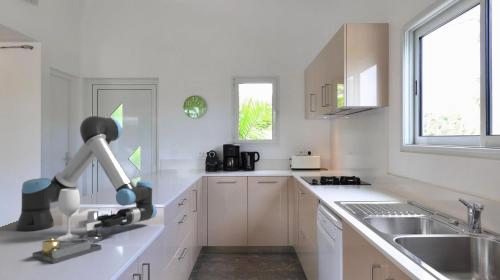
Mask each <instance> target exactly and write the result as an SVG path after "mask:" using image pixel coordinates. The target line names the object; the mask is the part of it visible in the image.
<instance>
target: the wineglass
mask: <svg viewBox="0 0 500 280" xmlns="http://www.w3.org/2000/svg"><path fill="white" fill-rule="evenodd" d="M57 204H58V206H57V207H58V210H59V211H60V213H61V214H63V215H65V216H66V219H67V226H66V234H63V235H60V236H58V237H57V238H56V240H59V242H63V241H67V240H73V239H80V237H81V236H80V235H78V234H72V233H71V217H72V215H74V214H75V213H77V212H78V210H79V208H80V205H81V195H80V191H79V188H76V189H74V188H72V189H62V190H61V191H60V194H59V200H58V202H57Z"/></svg>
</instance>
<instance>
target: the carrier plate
mask: <svg viewBox="0 0 500 280" xmlns="http://www.w3.org/2000/svg"><path fill="white" fill-rule="evenodd" d="M41 248H42V249H41V250H38V251H35V252H32V253H31V254H32V258H34V259H37V260H40V261H44V262H46V263H49V264H53V265H54V264H57V263H58V264H59V263H60V262H64V261H66V260H68V261H69V260H70V259H73V258H74V259H75V258H77V257H81V256H83V255H88V254H91V253H93V252H97V251H100V250H102V244H97V243H93V240H90V239H83V238H78V239H73V240H67V241H59V240H57V239H55V238H54V237H49V238H47V239H46V240H44V241H42V246H41Z"/></svg>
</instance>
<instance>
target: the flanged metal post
mask: <svg viewBox="0 0 500 280" xmlns="http://www.w3.org/2000/svg"><path fill="white" fill-rule="evenodd" d="M98 216H99V210H90V211H87V216H86V217H87V219H86V220H87V224H88V223H93V222H97V221H98ZM82 239H90V240H93V244H95V243H98V242H101V241H102V234H101V233H99V228H97V229H93V230H89V231H86V234H85V235H84V236H83V237H82Z"/></svg>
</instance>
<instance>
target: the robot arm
mask: <svg viewBox="0 0 500 280" xmlns="http://www.w3.org/2000/svg"><path fill="white" fill-rule="evenodd" d="M79 133H80V137H81V139H82V142H83V143H82V144H81V146H80V147H79V148H78V150H77V151H76V153H75V154H74V155H73V157H72V158H71V159H70V161H68V163H67V164H66V165H65V167H64V169H63V170H62V171H60V172H57V173H56V174H55V175H54V176H53V177H52V179H51V178H49V177H40V178H32V179H28V180H26V181H23V183H22V186H21V187H22V188H21V208H20V209H21V211H20V212H21V213H20V215H19V217H18V220H17V222H16V225H15V226H16V228H15V229H16V231H20V232H32V230H34V231H42V230H46V229H51V228H52V227H54V225H55V220H54V217H53V215H52V213H51V204H53V203H58V200H59V194H60V191H61V190H62V189H72V188H74V189H78V183H79V182H78V180H79V179H80V177H81V176H82V175H83V173H85V171H86V170H87V169H88V167H89V165H90V164H92V162H93V161H94V160H95V158H96V160H97V162H98V163H99V165H100V167H101V168H102V170H103V172H104V173H105V175H106V177H107V179H108V180H109V182H110V183H111V185H112V186H113V188H114V190H115V192H116V194H115V201H116V203H117V204H118V205H120V206H122V207H124V206H125V207H126V206H130V207H127V208H121V209H119V210H117V212H116V213H113V214H103V215H98V221H97V222H93V223H88V224H87V219H85V220H79V221H75V229H82V228H85V231H86V232H87V231H89V230H93V229H97V228H98V229H102V228H106V229H107V228H112V227H115V226H120V227H121V226H127V225H134V224H135V223H139V222H143V221H149V220H152V219H153V218H155V217H156V215H157V211H158V210H157V208H156V207H157V206H156V205H155V204H154V203H153V182H152V181H150V180H138V181H137V182H136V185H135V186H134V184H133V183H132V181H131V180H130V178H129V175H127V173H126V171H125V170H124V168H123V167H122V165H121V163H120V162H119V160H118V158H117V156H116V155H115V152H113V150H112V148H111V146H110V143H111V142H113V141H114V142H115V141H117V140H119V138H120V137H121V135H122V127H121V124H120V123H119V122H118V120H116V119H113V118H112V117H103V116H97V115H90V116H88V117H86V118H84V120H82V122H81V123H80V127H79ZM133 204H135V206H131V205H133Z"/></svg>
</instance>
